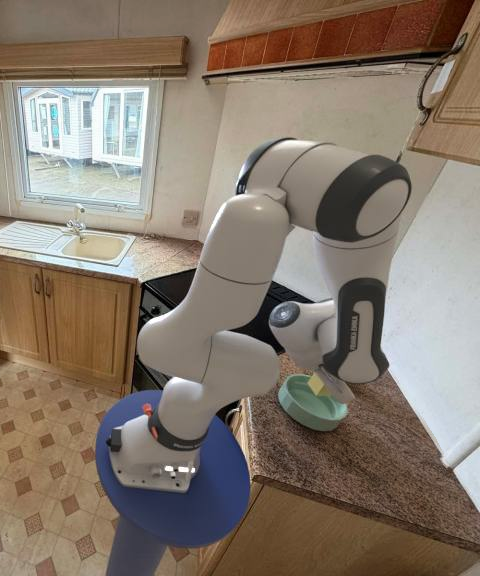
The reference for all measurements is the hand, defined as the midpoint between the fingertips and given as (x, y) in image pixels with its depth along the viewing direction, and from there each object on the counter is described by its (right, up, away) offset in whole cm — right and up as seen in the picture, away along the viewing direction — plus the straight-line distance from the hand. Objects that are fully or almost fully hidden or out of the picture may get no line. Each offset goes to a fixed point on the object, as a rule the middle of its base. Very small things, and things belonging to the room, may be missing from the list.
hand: (328, 379), depth 82 cm
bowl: (-1, -10, +6) cm, 12 cm away
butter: (-1, -4, +2) cm, 4 cm away
